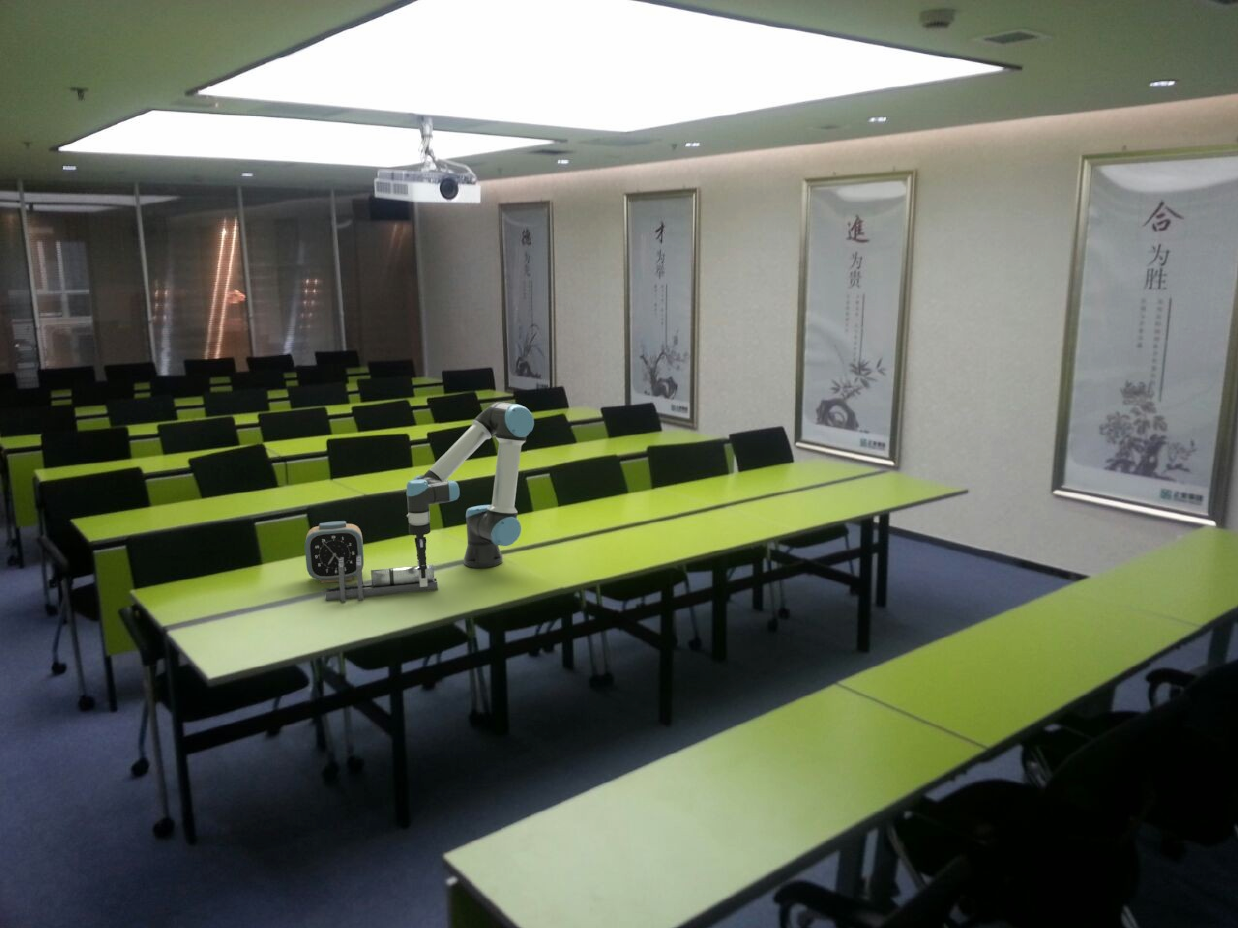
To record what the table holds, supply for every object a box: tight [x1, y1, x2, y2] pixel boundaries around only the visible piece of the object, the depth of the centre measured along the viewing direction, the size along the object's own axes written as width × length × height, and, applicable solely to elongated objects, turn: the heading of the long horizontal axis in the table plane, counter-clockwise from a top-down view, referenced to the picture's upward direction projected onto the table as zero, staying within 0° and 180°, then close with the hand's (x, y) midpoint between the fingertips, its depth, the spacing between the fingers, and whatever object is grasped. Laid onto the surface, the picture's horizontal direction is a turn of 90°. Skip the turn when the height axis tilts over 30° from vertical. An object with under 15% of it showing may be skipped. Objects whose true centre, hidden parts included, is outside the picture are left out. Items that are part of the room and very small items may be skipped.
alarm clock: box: [304, 520, 365, 584], centre depth 353 cm, size 21×10×22 cm, turn 105°
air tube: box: [370, 564, 435, 587], centre depth 338 cm, size 22×6×6 cm, turn 105°
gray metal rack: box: [324, 555, 439, 604], centre depth 336 cm, size 39×12×13 cm, turn 105°
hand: (422, 581), depth 341 cm, fingers open, 10 cm apart
